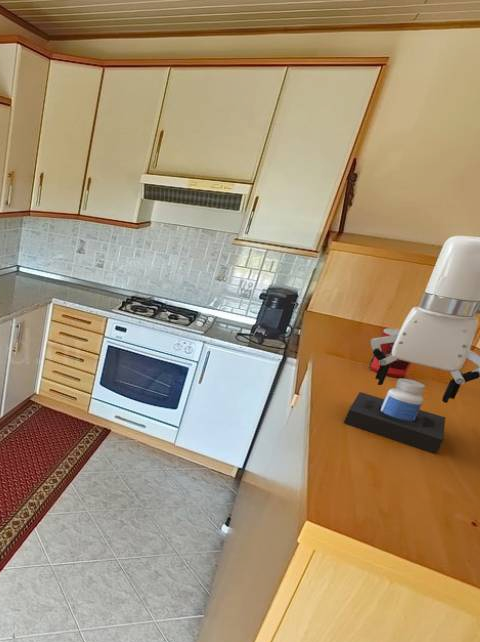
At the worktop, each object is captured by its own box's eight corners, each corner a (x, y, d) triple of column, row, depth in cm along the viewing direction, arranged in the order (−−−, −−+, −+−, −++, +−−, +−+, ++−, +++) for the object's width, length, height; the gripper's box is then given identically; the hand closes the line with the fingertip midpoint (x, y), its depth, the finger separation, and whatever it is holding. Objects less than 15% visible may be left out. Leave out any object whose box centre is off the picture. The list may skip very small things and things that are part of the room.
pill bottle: (414, 436, 94) (435, 391, 91) (380, 429, 96) (401, 384, 92) (401, 424, 99) (422, 380, 95) (370, 417, 101) (389, 374, 97)
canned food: (383, 366, 134) (400, 328, 130) (412, 378, 126) (431, 338, 122) (360, 365, 132) (376, 327, 128) (388, 378, 125) (406, 337, 121)
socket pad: (354, 404, 107) (359, 391, 106) (438, 430, 98) (445, 417, 97) (343, 422, 97) (349, 409, 96) (436, 454, 88) (443, 439, 87)
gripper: (514, 314, 85) (472, 402, 91) (389, 293, 96) (359, 373, 102) (517, 321, 80) (473, 413, 86) (385, 298, 91) (353, 381, 97)
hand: (411, 391), depth 94 cm, fingers open, 9 cm apart
